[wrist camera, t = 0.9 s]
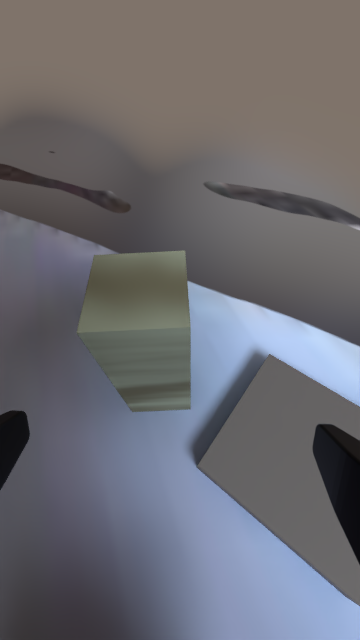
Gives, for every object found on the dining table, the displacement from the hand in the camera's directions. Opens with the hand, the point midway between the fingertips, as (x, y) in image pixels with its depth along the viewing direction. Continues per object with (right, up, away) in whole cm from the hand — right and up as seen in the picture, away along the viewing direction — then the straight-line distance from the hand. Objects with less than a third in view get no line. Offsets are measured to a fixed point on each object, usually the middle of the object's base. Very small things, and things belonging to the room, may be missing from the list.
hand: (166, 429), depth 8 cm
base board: (+9, -7, +12) cm, 17 cm away
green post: (-1, -2, +15) cm, 16 cm away
